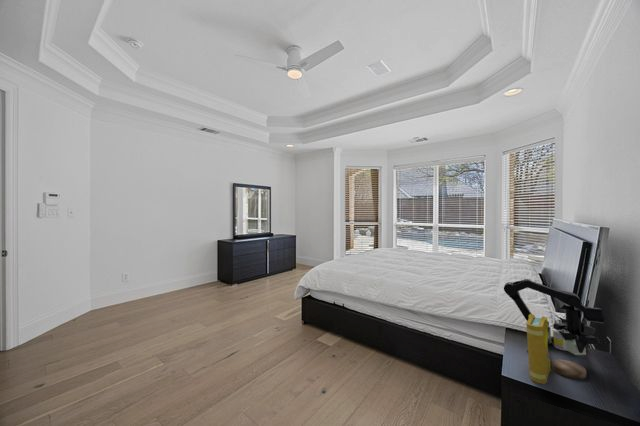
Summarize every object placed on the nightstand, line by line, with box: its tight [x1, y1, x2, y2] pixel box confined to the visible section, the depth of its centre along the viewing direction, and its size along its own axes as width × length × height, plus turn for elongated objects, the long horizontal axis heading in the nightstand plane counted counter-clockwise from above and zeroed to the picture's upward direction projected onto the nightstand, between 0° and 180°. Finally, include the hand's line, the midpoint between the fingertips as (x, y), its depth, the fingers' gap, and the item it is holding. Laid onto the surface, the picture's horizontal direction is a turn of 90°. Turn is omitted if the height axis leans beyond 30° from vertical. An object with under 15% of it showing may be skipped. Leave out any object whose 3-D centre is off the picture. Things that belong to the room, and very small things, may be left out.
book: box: [526, 314, 552, 385], centre depth 122 cm, size 17×7×25 cm, turn 134°
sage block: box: [565, 339, 587, 356], centre depth 130 cm, size 5×5×5 cm
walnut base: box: [550, 358, 587, 380], centre depth 123 cm, size 12×12×2 cm
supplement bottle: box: [552, 328, 568, 352], centre depth 145 cm, size 7×7×13 cm
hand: (575, 350), depth 130 cm, fingers closed on sage block, 5 cm apart
